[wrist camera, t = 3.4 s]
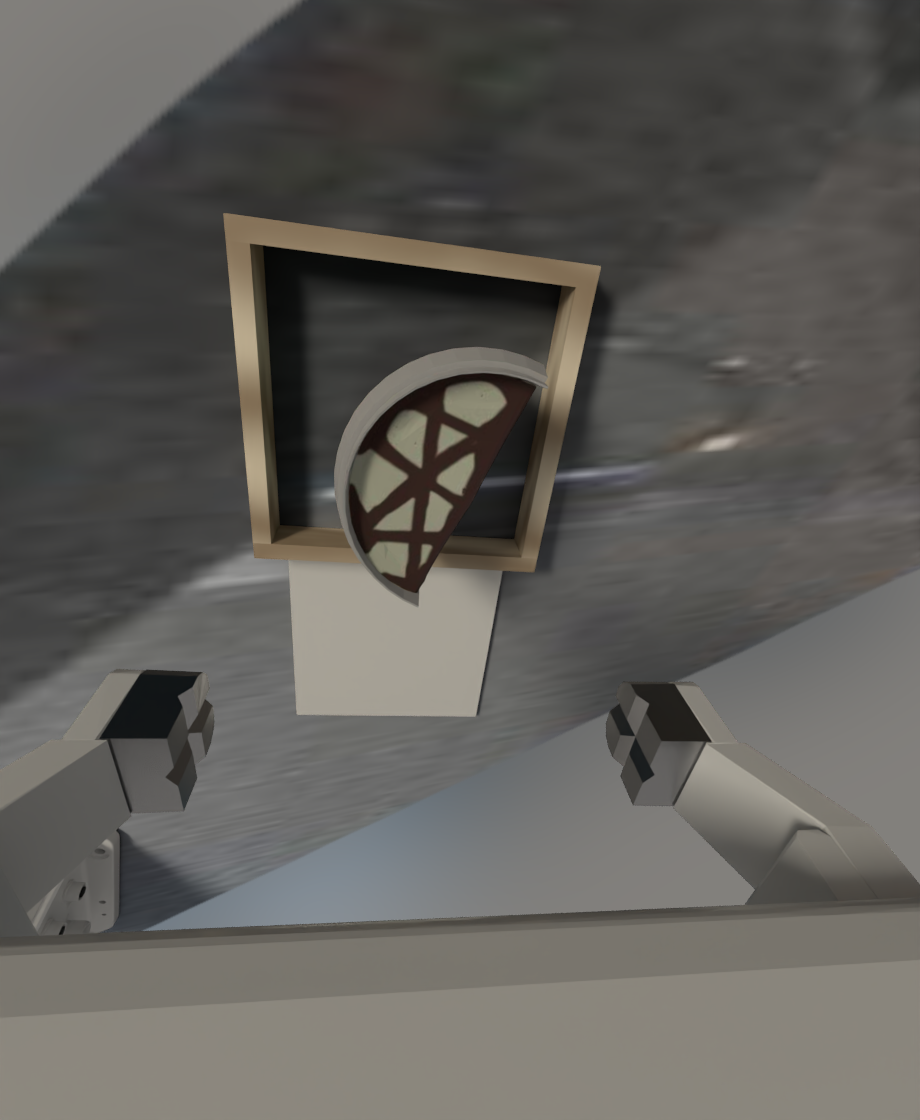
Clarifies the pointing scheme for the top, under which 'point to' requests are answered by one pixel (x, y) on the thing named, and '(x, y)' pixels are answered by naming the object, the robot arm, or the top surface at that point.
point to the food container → (425, 456)
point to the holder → (574, 277)
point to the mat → (389, 641)
